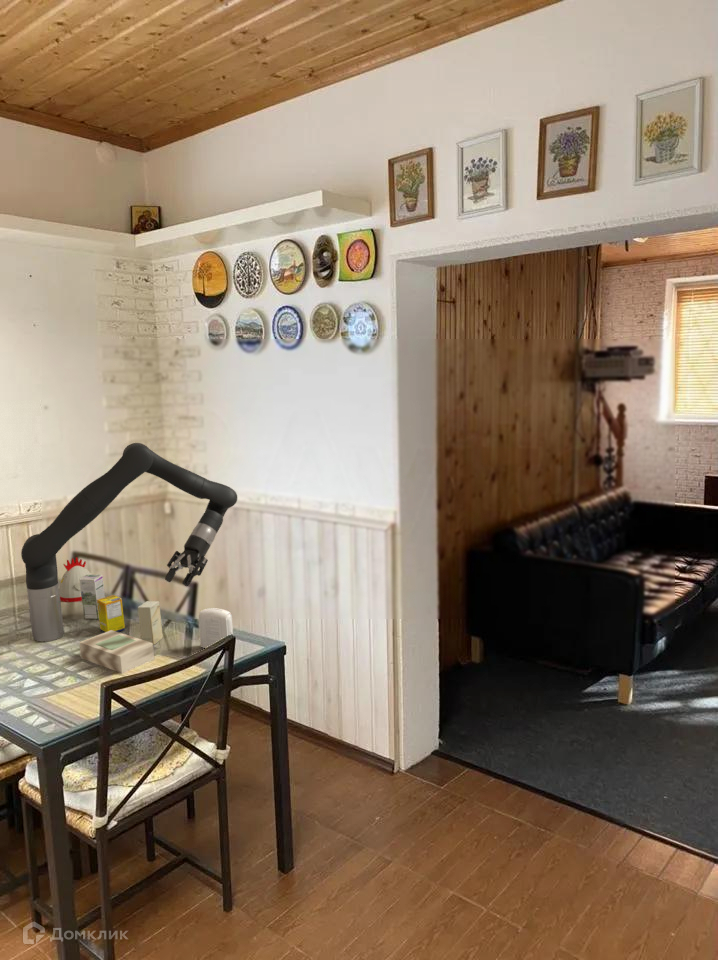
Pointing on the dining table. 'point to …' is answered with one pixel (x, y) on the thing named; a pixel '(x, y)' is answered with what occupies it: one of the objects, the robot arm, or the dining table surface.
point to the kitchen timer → (72, 581)
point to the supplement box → (111, 614)
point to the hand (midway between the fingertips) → (176, 582)
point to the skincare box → (150, 621)
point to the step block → (116, 651)
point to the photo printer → (214, 625)
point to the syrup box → (91, 594)
